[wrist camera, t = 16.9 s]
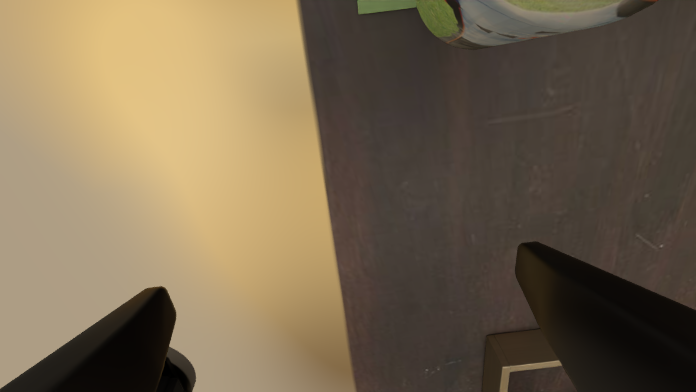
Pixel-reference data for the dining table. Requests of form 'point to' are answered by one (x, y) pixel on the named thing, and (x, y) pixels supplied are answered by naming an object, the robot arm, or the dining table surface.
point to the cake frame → (514, 357)
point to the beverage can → (518, 18)
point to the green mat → (383, 5)
